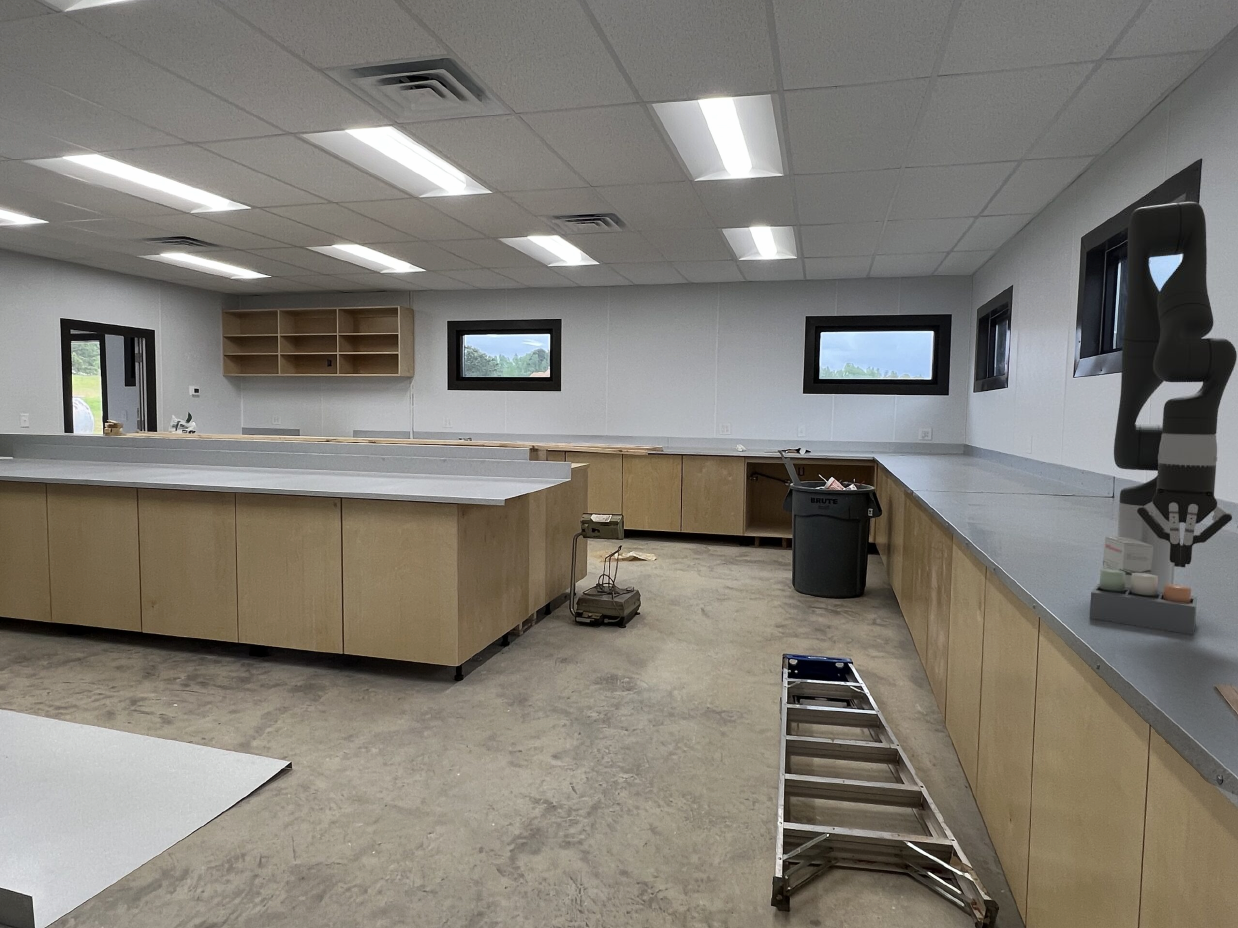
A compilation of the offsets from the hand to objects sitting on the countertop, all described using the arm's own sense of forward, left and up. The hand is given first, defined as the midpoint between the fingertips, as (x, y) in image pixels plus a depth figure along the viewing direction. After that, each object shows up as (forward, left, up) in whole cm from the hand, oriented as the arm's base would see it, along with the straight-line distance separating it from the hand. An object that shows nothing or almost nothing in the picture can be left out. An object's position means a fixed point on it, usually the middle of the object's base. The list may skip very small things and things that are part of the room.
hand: (1179, 566), depth 121 cm
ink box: (-6, -14, -10) cm, 18 cm away
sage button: (+5, -7, -5) cm, 10 cm away
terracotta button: (0, 0, -6) cm, 6 cm away
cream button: (+3, -4, -5) cm, 7 cm away
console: (+3, -4, -10) cm, 11 cm away
